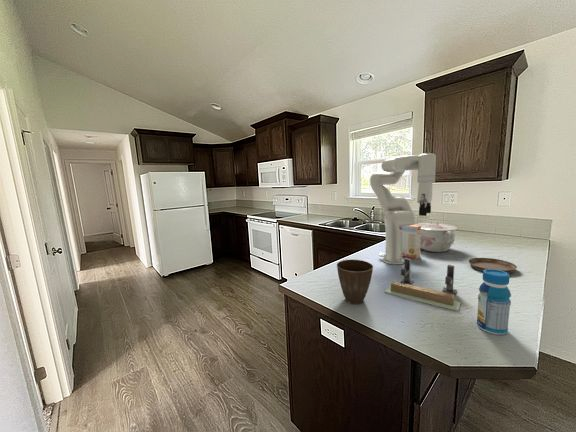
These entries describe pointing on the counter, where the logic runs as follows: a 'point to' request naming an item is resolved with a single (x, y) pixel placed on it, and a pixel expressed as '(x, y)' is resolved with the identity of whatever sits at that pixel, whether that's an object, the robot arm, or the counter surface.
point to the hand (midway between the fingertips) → (424, 214)
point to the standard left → (406, 272)
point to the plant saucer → (492, 264)
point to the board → (454, 307)
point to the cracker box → (411, 241)
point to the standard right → (449, 280)
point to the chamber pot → (436, 236)
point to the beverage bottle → (494, 302)
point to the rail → (423, 293)
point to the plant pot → (354, 279)
